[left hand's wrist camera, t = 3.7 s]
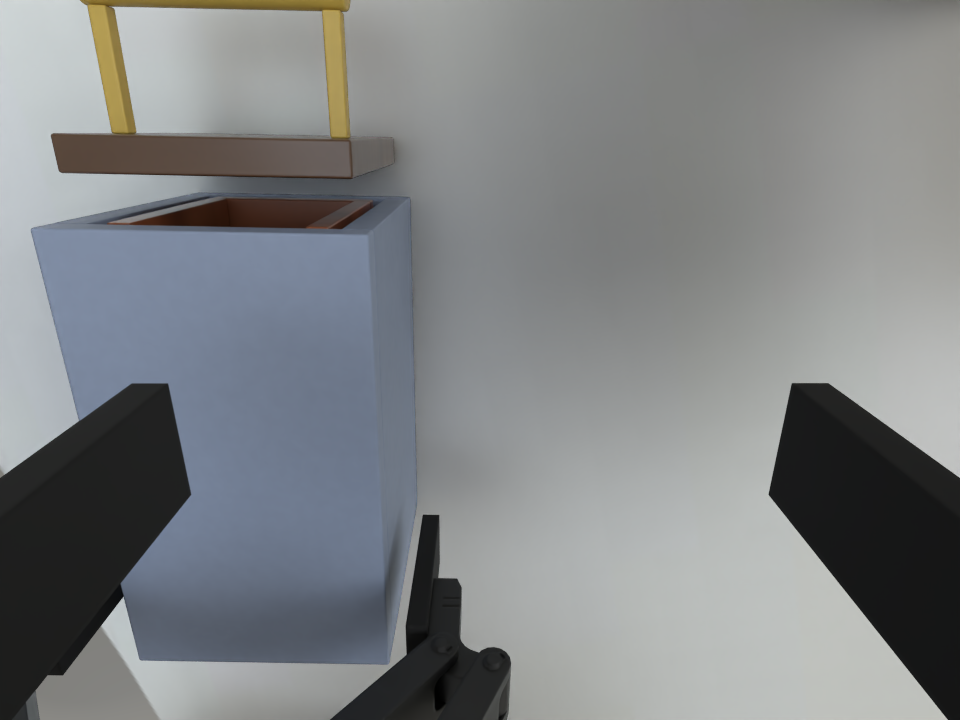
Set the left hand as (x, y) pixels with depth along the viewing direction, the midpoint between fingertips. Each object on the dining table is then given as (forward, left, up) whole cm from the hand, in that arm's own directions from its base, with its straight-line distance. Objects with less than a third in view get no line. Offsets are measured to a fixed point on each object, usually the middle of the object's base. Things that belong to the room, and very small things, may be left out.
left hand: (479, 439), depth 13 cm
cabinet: (+7, -9, -19) cm, 22 cm away
